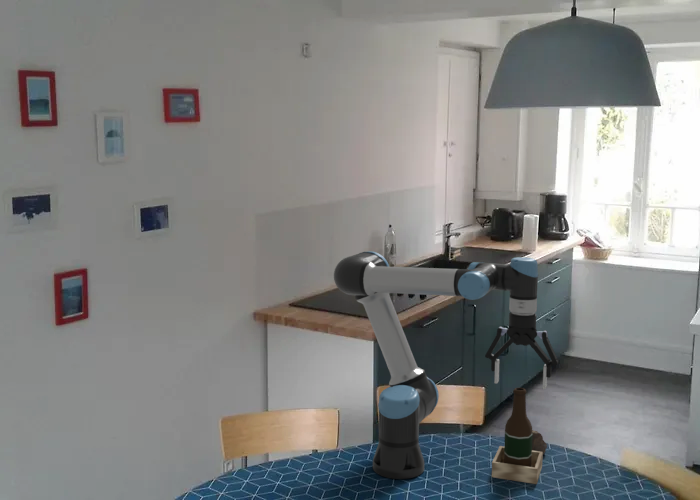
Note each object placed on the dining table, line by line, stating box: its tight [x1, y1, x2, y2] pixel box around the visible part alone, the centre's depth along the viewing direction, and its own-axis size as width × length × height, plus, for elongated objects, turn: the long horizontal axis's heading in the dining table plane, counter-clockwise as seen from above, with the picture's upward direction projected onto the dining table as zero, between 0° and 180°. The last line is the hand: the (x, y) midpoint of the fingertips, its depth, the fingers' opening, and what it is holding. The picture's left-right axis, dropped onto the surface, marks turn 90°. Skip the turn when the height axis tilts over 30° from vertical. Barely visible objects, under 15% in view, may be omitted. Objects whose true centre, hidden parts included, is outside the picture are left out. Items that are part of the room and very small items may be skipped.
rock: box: [532, 429, 548, 455], centre depth 229 cm, size 14×9×10 cm
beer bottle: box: [503, 387, 533, 467], centre depth 215 cm, size 8×8×24 cm
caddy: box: [491, 445, 544, 485], centre depth 216 cm, size 13×13×4 cm
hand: (520, 385), depth 213 cm, fingers open, 13 cm apart
